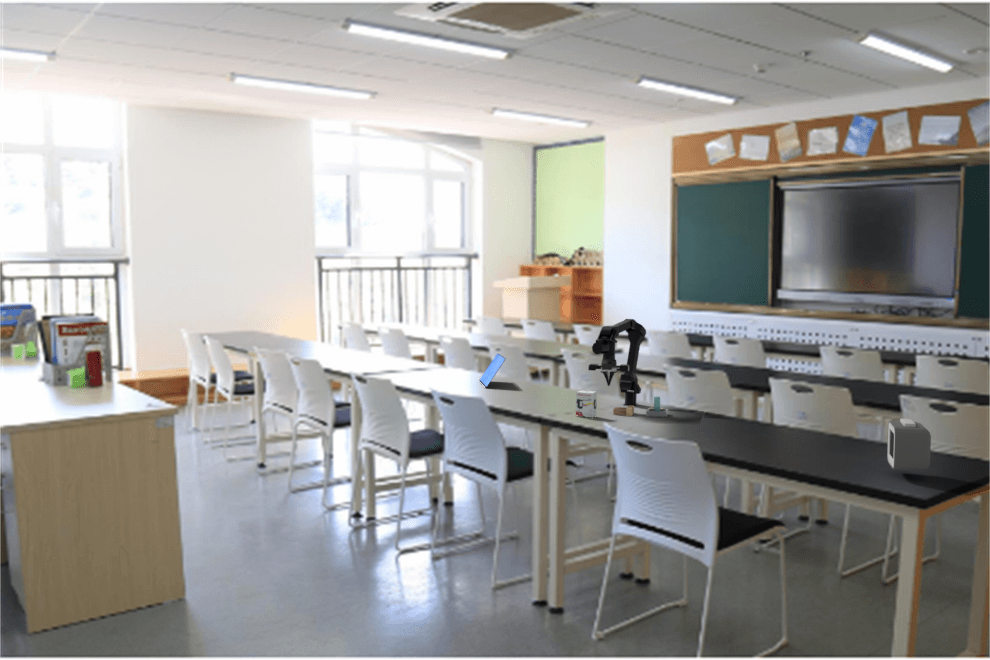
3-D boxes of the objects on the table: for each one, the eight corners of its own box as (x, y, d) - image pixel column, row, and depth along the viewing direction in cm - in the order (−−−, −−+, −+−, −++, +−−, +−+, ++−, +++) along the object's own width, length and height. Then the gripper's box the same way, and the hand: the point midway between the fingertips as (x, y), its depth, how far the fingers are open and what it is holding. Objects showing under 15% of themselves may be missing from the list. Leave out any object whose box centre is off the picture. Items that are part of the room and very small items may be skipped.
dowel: (652, 414, 399) (652, 397, 398) (656, 413, 401) (656, 396, 400) (658, 415, 397) (657, 397, 396) (661, 414, 399) (661, 396, 398)
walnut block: (614, 413, 407) (614, 407, 407) (627, 413, 405) (627, 407, 405) (613, 415, 401) (613, 409, 401) (626, 416, 400) (626, 409, 399)
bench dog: (628, 413, 406) (628, 405, 406) (634, 413, 405) (634, 405, 405) (626, 415, 398) (626, 408, 398) (631, 416, 398) (631, 408, 397)
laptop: (443, 385, 506) (443, 354, 505) (498, 384, 511) (498, 353, 509) (448, 392, 477) (448, 359, 475) (506, 391, 481) (506, 358, 480)
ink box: (575, 417, 394) (575, 391, 393) (579, 415, 399) (579, 390, 398) (592, 418, 390) (593, 392, 389) (596, 417, 395) (597, 391, 394)
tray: (648, 413, 404) (648, 408, 404) (668, 414, 402) (668, 408, 402) (646, 416, 396) (646, 411, 396) (666, 417, 393) (666, 412, 393)
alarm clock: (886, 460, 304) (888, 416, 303) (922, 462, 301) (923, 417, 300) (893, 470, 289) (895, 424, 288) (931, 473, 285) (933, 426, 284)
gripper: (586, 353, 406) (586, 387, 407) (626, 354, 400) (626, 388, 401) (590, 351, 416) (590, 384, 417) (629, 352, 411) (629, 385, 412)
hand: (608, 385), depth 412 cm, fingers closed
